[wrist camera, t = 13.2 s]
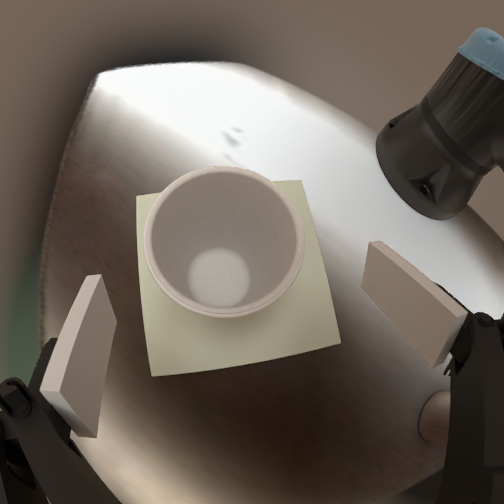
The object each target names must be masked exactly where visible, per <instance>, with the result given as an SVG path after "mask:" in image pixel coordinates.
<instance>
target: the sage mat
mask: <svg viewBox="0 0 504 504" xmlns="http://www.w3.org/2000/svg"><path fill="white" fill-rule="evenodd" d="M273 183H274V184H275V185H277V186H278V187H279V188H280V189H281V190H282V191H283V192H284V193H285V194H286V195H287V196H288V198H289V199H290V200H291V202H292V203H293V205H294V206H295V208H296V210H297V212H298V214H299V217H300V219H301V222H302V226H303V230H304V238H305V249H304V257H303V261H302V265H301V268H300V270H299V273H298V275H297V277H296V279H295V280H294V282H293V283H292V285H291V286H290V288H289V289H288V290H287V291H286V292H285V293H284V294H283V295H282V296H281V297H280V298H279V299H278V300H277V301H276V302H274V303H273V304H271V305H270V306H268V307H266V308H265V309H263V310H261V311H258V312H256V313H253V314H250V315H247V316H243V317H237V318H212V317H207V316H203V315H199V314H196V313H194V312H191V311H189V310H187V309H185V308H183V307H181V306H180V305H178V304H177V303H175V302H174V301H172V300H171V299H170V298H169V297H168V296H167V295H166V294H165V293H164V292H163V291H162V290H161V289H160V288H159V286H158V285H157V284H156V282H155V281H154V279H153V277H152V276H151V274H150V272H149V269H148V267H147V264H146V261H145V257H144V251H143V231H144V226H145V222H146V218H147V216H148V213H149V211H150V209H151V207H152V205H153V203H154V202H155V200H156V199H157V198H158V196H159V195H160V194H161V193H154V194H147V195H140V196H137V246H138V265H139V279H140V291H141V302H142V312H143V320H144V329H145V336H146V344H147V350H148V357H149V363H150V369H151V375H152V376H164V375H174V374H183V373H192V372H200V371H207V370H214V369H221V368H227V367H234V366H240V365H245V364H251V363H256V362H262V361H267V360H272V359H277V358H282V357H286V356H291V355H295V354H300V353H304V352H308V351H312V350H316V349H320V348H324V347H328V346H332V345H336V344H340V343H341V340H340V335H339V330H338V325H337V321H336V316H335V311H334V306H333V302H332V297H331V293H330V288H329V284H328V280H327V275H326V271H325V267H324V263H323V259H322V255H321V251H320V247H319V243H318V239H317V235H316V232H315V228H314V224H313V220H312V217H311V213H310V209H309V206H308V202H307V199H306V195H305V192H304V189H303V185H302V182H301V180H291V181H274V182H273Z"/></svg>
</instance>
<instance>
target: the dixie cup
mask: <svg viewBox="0 0 504 504" xmlns="http://www.w3.org/2000/svg"><path fill="white" fill-rule="evenodd" d="M304 249H305V238H304V230H303V226H302V222H301V219H300V217H299V214H298V212H297V210H296V208H295V206H294V205H293V203H292V202H291V200H290V199H289V198H288V196H287V195H286V194H285V193H284V192H283V191H282V190H281V189H280V188H279V187H278V186H277V185H275V184H274V183H273V182H271V181H270V180H269V179H267V178H265V177H263V176H262V175H260V174H257V173H255V172H252V171H250V170H246V169H243V168H238V167H231V166H214V167H207V168H202V169H199V170H195V171H193V172H190V173H188V174H186V175H184V176H182V177H180V178H178V179H177V180H175V181H174V182H173V183H171V184H170V185H169V186H168V187H167V188H166V189H165V190H164V191H163V192H162V193H161V194H160V195H159V196H158V198H157V199H156V200H155V202H154V203H153V205H152V207H151V209H150V211H149V213H148V216H147V218H146V222H145V226H144V231H143V251H144V257H145V261H146V264H147V267H148V269H149V272H150V274H151V276H152V277H153V279H154V281H155V282H156V284H157V285H158V286H159V288H160V289H161V290H162V291H163V292H164V293H165V294H166V295H167V296H168V297H169V298H170V299H171V300H172V301H174V302H175V303H177V304H178V305H180V306H181V307H183V308H185V309H187V310H189V311H191V312H194V313H196V314H199V315H203V316H207V317H212V318H237V317H243V316H247V315H250V314H253V313H256V312H258V311H261V310H263V309H265V308H266V307H268V306H270V305H271V304H273V303H274V302H276V301H277V300H278V299H279V298H280V297H281V296H282V295H283V294H284V293H285V292H286V291H287V290H288V289H289V288H290V286H291V285H292V283H293V282H294V280H295V279H296V277H297V275H298V273H299V270H300V268H301V265H302V261H303V257H304Z"/></svg>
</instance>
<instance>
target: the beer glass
mask: <svg viewBox="0 0 504 504" xmlns="http://www.w3.org/2000/svg"><path fill="white" fill-rule="evenodd" d="M449 417H450V391H439V392H437V393H435V394H434V395H433V396H432V397H431V398H430V399H429V400H428V401H427V403H426V404H425V406H424V408H423V410H422V413H421V416H420V420H419V431H420V434H421V436H422V438H423V439H424V440H426V441H429V442H447V441H448V431H449Z"/></svg>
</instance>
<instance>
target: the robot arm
mask: <svg viewBox="0 0 504 504" xmlns="http://www.w3.org/2000/svg"><path fill="white" fill-rule="evenodd" d="M376 149H377V155H378V159H379V162H380V165H381V167H382V169H383V171H384V173H385V175H386V177H387V179H388V180H389V182H390V183H391V185H392V186H393V187H394V189H395V190H396V191H397V192H398V194H399V195H400V196H401V197H402V198H403V199H404V200H405V201H406V202H407V203H408V204H409V205H411V206H412V207H413V208H414V209H416V210H417V211H419V212H420V213H422V214H424V215H426V216H428V217H430V218H433V219H438V220H444V219H448V218H451V217H452V216H454V215H455V214H457V213H458V212H459V211H461V210H462V209H463V208H464V207H465V206H466V204H467V203H468V201H469V199H470V198H471V196H472V195H473V193H474V191H475V190H476V188H477V186H478V185H479V183H480V181H481V179H482V178H483V176H485V175H486V174H487V173H488V172H490V171H491V170H492V169H493V168H495V167H496V166H500V168H501V169H502V170H503V171H504V38H503V37H502V36H500V35H499V34H497V33H496V32H494V31H492V30H490V29H488V28H478V29H476V30H475V31H474V32H473V33H472V34H471V36H470V37H469V38H468V39H467V40H466V42H465V43H464V44H463V45H462V46H460V47H458V53H457V55H456V56H455V57H454V59H453V60H452V62H451V63H450V64H449V66H448V67H447V68H446V69H445V71H444V72H443V73H442V75H441V76H440V77H439V79H438V80H437V81H436V83H435V84H434V85H433V87H432V88H431V89H430V90H429V92H428V93H427V95H426V96H425V97H424V98H423V100H422V101H421V102H420V103H419V104H417V105H416V106H414V107H412V108H411V109H409V110H407V111H406V112H404V113H402V114H400V115H398V116H397V117H395V118H393V119H392V120H390V121H389V122H388V123H387V125H386V126H385V127H384V128H383V130H382V131H381V132H380V134H379V136H378V138H377V143H376ZM361 288H362V289H363V290H364V291H365V292H366V293H367V294H368V295H369V296H370V297H371V298H372V299H373V301H374V302H375V303H376V304H377V305H378V306H379V307H380V308H381V309H382V310H383V312H384V313H385V314H386V315H387V316H388V317H389V318H390V319H391V321H392V322H393V323H394V324H395V325H396V326H397V327H398V328H399V330H400V331H401V332H402V333H403V334H404V335H405V337H406V338H407V339H408V340H409V341H410V342H411V343H412V345H413V346H414V347H415V348H416V349H417V351H418V352H419V353H420V354H421V355H422V356H423V358H424V359H425V360H426V361H427V362H428V364H429V365H430V366H431V367H432V368H434V367H436V366H438V365H440V364H442V363H443V362H444V361H445V359H446V357H447V355H448V354H449V352H450V353H451V354H452V356H453V357H452V359H451V361H450V362H449V364H448V366H447V368H446V369H445V371H444V375H446V374H447V372H448V370H450V374H449V375H448V376H450V379H451V387H450V417H449V431H448V441H447V450H446V458H445V464H444V471H443V477H442V482H441V487H440V492H439V496H438V499H437V501H436V502H435V504H504V313H503V315H502V317H501V319H498V320H494V319H493V318H492V317H491V316H489V315H488V314H486V313H483V312H477V313H475V314H473V313H472V312H471V311H469V310H468V309H467V308H466V307H465V306H464V305H463V304H462V303H460V302H459V301H458V300H457V299H456V298H453V296H452V295H451V294H450V293H448V291H446V290H445V289H444V288H443V287H442V286H440V285H438V284H436V283H434V282H433V281H431V280H430V279H429V278H428V277H426V276H425V275H424V274H423V273H421V272H420V271H419V270H418V269H416V268H415V267H414V266H413V265H411V264H410V263H409V262H408V261H406V260H405V259H404V258H402V257H401V256H400V255H399V254H397V253H396V252H395V251H393V250H392V249H391V248H389V247H388V246H387V245H385V244H384V243H383V242H381V241H376V242H369V246H368V252H367V258H366V264H365V270H364V275H363V280H362V285H361ZM116 323H117V321H116V318H115V315H114V312H113V309H112V306H111V303H110V300H109V297H108V294H107V291H106V288H105V285H104V281H103V278H102V275H101V274H100V275H91V276H87V277H86V279H85V281H84V283H83V285H82V287H81V289H80V291H79V293H78V295H77V297H76V299H75V301H74V303H73V306H72V308H71V310H70V312H69V314H68V317H67V319H66V321H65V323H64V326H63V328H62V331H61V333H60V335H59V338H51V339H50V340H49V341H48V342H47V343H46V345H45V346H44V347H43V349H42V352H41V354H40V359H38V362H37V364H36V365H37V367H35V369H34V372H33V375H32V377H31V380H30V383H29V386H28V388H27V387H26V385H25V384H24V383H23V381H22V380H21V379H19V378H9V379H6V380H5V381H3V382H2V383H1V384H0V408H1V409H2V410H3V411H0V504H49V503H48V500H47V498H46V496H47V497H48V499H49V501H50V502H51V504H122V503H121V502H120V501H119V500H118V499H117V498H116V497H115V495H114V494H113V493H112V492H111V491H110V490H109V488H108V487H107V486H106V485H105V484H104V482H103V481H102V480H101V479H100V477H99V476H98V475H97V474H96V472H95V471H94V470H93V468H92V467H91V466H90V464H89V463H88V462H87V460H86V459H85V457H84V456H83V455H82V453H81V452H80V450H79V449H78V447H77V446H76V444H75V443H74V441H73V440H72V439H71V438H70V432H71V429H72V430H73V431H74V432H75V433H76V435H77V436H78V437H89V438H97V430H98V422H99V414H100V407H101V400H102V394H103V387H104V381H105V376H106V370H107V365H108V360H109V355H110V350H111V345H112V341H113V336H114V332H115V328H116ZM45 494H46V495H45Z"/></svg>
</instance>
